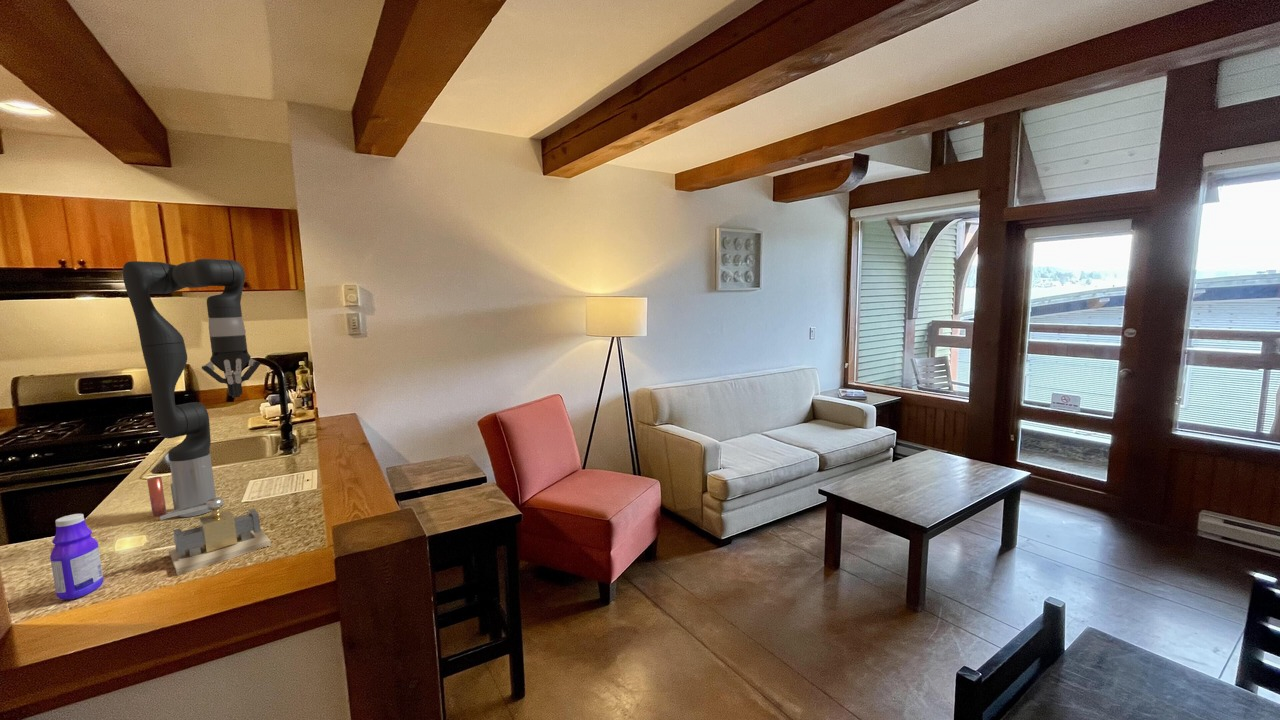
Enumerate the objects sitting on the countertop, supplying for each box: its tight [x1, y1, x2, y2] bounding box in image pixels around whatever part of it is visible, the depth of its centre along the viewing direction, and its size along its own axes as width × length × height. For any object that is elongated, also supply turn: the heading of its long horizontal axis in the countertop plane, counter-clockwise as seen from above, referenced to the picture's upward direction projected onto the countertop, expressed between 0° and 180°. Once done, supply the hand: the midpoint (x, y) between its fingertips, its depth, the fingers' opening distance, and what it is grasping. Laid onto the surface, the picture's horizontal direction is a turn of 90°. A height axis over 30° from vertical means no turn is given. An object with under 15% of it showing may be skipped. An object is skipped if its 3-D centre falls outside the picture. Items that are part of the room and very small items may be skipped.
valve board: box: [168, 528, 272, 576], centre depth 127 cm, size 18×14×2 cm
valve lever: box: [146, 476, 224, 521], centre depth 122 cm, size 3×13×10 cm, turn 137°
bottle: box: [49, 513, 104, 600], centre depth 109 cm, size 7×6×17 cm
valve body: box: [172, 507, 262, 557], centre depth 127 cm, size 16×6×10 cm, turn 138°
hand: (235, 397), depth 137 cm, fingers closed
